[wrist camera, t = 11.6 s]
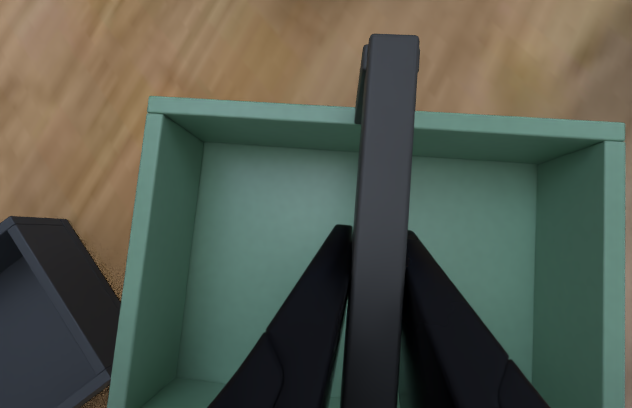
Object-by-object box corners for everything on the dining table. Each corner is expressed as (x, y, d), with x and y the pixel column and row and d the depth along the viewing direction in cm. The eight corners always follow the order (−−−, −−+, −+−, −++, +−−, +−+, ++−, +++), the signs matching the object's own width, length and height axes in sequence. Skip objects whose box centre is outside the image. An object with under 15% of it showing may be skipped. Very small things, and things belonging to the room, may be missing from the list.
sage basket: (536, 430, 13) (847, 734, 5) (168, 383, 14) (-49, 573, 6) (543, 154, 14) (812, 48, 6) (198, 132, 15) (45, 18, 7)
